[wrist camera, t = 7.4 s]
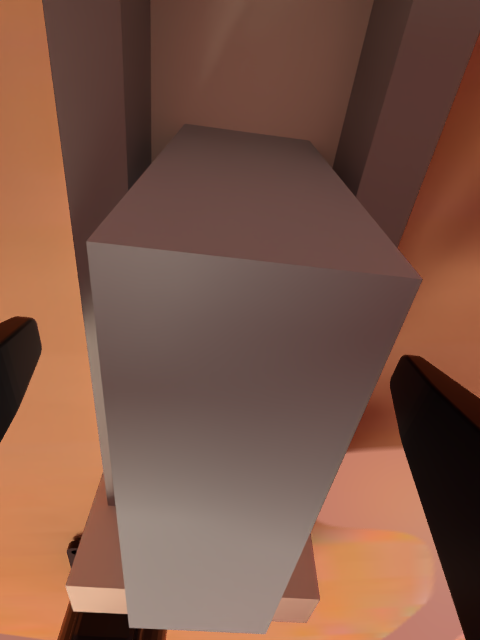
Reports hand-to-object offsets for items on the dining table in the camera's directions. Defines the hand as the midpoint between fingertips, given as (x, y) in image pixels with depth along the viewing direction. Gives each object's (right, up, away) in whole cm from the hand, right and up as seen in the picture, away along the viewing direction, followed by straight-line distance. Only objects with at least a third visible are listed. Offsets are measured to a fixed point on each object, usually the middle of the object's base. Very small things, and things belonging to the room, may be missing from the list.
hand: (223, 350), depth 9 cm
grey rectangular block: (0, +2, +2) cm, 3 cm away
